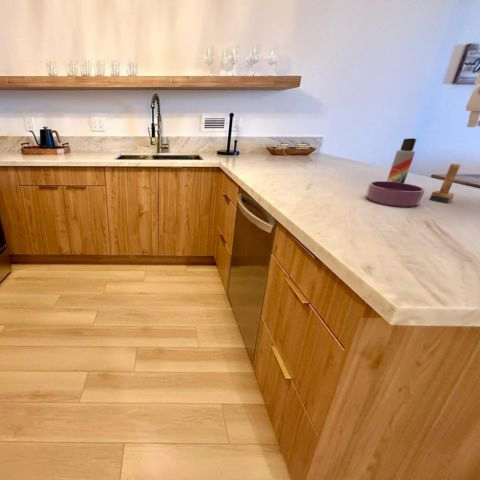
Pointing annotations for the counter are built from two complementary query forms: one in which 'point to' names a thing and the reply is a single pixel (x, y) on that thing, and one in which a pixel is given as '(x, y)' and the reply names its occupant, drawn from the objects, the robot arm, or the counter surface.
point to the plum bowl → (394, 193)
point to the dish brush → (446, 186)
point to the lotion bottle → (402, 161)
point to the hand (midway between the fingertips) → (476, 126)
